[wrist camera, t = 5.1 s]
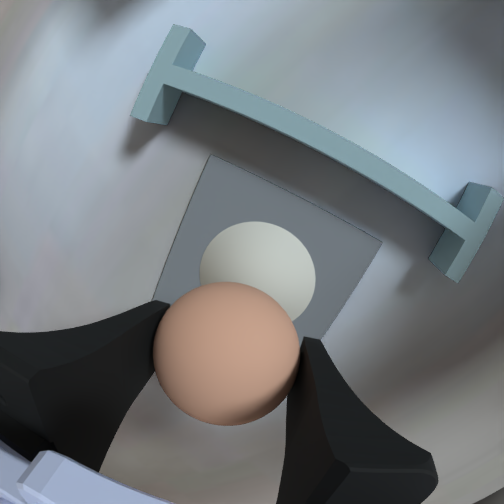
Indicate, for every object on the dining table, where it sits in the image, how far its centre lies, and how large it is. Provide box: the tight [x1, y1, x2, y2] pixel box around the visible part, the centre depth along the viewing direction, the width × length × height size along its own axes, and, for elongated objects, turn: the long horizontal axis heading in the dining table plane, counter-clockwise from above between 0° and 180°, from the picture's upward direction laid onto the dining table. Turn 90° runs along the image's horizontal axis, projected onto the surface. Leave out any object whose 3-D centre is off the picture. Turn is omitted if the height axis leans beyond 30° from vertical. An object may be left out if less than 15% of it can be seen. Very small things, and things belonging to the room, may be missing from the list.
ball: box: [153, 282, 300, 426], centre depth 11 cm, size 5×5×5 cm
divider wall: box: [130, 24, 504, 283], centre depth 14 cm, size 18×5×2 cm, turn 64°
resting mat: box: [152, 155, 382, 347], centre depth 18 cm, size 10×10×1 cm
